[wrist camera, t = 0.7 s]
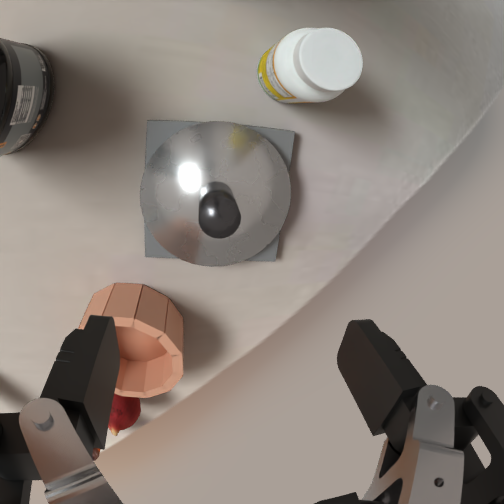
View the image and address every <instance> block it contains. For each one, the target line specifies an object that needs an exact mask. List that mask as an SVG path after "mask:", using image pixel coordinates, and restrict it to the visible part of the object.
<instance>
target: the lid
mask: <svg viewBox="0 0 504 504" xmlns="http://www.w3.org/2000/svg"><path fill="white" fill-rule="evenodd" d="M290 200H291V184H290V178H289V174H288V171H287V168H286V165H285V163H284V161H283V159H282V157H281V156H280V154H279V153H278V151H277V150H276V149H275V147H274V146H273V145H272V144H271V143H270V142H269V141H268V140H267V139H265V138H264V137H263V136H262V135H260V134H259V133H257V132H255V131H254V130H252V129H249V128H247V127H245V126H242V125H239V124H235V123H231V122H225V121H209V122H202V123H198V124H194V125H191V126H189V127H186V128H184V129H182V130H180V131H178V132H177V133H175V134H174V135H172V136H171V137H170V138H168V139H167V140H166V141H165V142H164V143H163V144H162V145H161V146H160V147H159V148H158V149H157V150H156V152H155V153H154V154H153V156H152V157H151V159H150V161H149V163H148V164H147V166H146V169H145V172H144V174H143V178H142V182H141V190H140V202H141V209H142V214H143V217H144V220H145V222H146V225H147V227H148V229H149V230H150V232H151V234H152V235H153V236H154V238H155V239H156V240H157V241H158V243H159V244H160V245H161V246H162V247H163V248H165V249H166V250H167V251H168V252H170V253H171V254H173V255H174V256H176V257H178V258H180V259H182V260H184V261H186V262H189V263H192V264H197V265H201V266H211V267H212V266H226V265H231V264H235V263H239V262H241V261H244V260H246V259H248V258H250V257H252V256H254V255H256V254H257V253H259V252H260V251H261V250H263V249H264V248H265V247H266V246H267V245H268V244H270V242H271V241H272V240H273V239H274V238H275V237H276V235H277V234H278V232H279V231H280V230H281V228H282V226H283V224H284V222H285V220H286V217H287V214H288V211H289V207H290Z"/></svg>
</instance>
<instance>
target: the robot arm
mask: <svg viewBox="0 0 504 504" xmlns="http://www.w3.org/2000/svg"><path fill="white" fill-rule="evenodd" d="M337 364H338V368H339V370H340V372H341V374H342V376H343V378H344V379H345V382H346V383H347V386H348V388H349V389H350V391H351V393H352V395H353V397H354V399H355V401H356V403H357V405H358V407H359V409H360V411H361V413H362V415H363V417H364V419H365V421H366V423H367V425H368V427H369V428H370V431H371V433H372V435H373V436H375V435H379V434H382V433H386V435H387V438H386V440H385V441H384V444H383V448H382V451H381V455H380V458H379V462H378V465H377V469H376V472H375V476H374V478H373V481H372V484H371V486H370V488H369V489H368V491H367V492H366V494H365V495H364V497H363V499H362V500H359V499H358V496H357V494H356V492H354V493H350V494H347V495H343V496H339V497H335V498H331V499H327V500H322V501H319V502H317V503H315V504H504V405H503V404H502V402H501V401H500V400H499V398H498V397H497V395H496V394H495V393H494V392H493V391H492V390H490V389H488V388H486V387H482V386H478V387H475V388H474V389H473V390H472V391H471V392H470V394H469V395H468V397H467V398H455V397H454V398H453V397H452V396H451V395H450V394H449V392H448V391H446V390H445V389H443V388H442V387H439V386H436V385H427V384H426V383H425V381H424V380H423V379H422V377H421V376H420V374H419V373H418V372H417V370H416V369H415V368H414V366H413V365H412V364H411V362H410V361H409V360H408V359H406V356H405V354H404V353H403V352H402V351H401V349H400V348H399V346H398V345H397V344H396V342H395V341H394V340H393V339H392V338H390V337H389V336H388V335H386V334H385V333H384V332H381V331H380V330H379V328H378V327H377V326H376V324H375V323H374V322H373V321H372V320H370V319H366V320H352V321H350V322H349V324H348V326H347V329H346V331H345V335H344V337H343V340H342V343H341V345H340V348H339V351H338V355H337ZM119 369H120V352H119V346H118V340H117V334H116V328H115V322H114V318H113V317H112V316H100V315H90V316H89V318H88V321H87V323H86V325H85V327H84V329H75V330H74V331H72V332H71V333H70V334H69V335H68V336H67V337H66V338H65V340H64V342H63V344H62V346H61V349H60V352H59V353H58V355H57V357H56V361H55V362H54V364H53V367H52V369H51V371H50V374H49V376H48V379H47V381H46V384H45V386H44V389H43V391H42V394H41V396H40V398H38V399H34V400H32V401H30V402H28V403H27V404H26V405H25V406H24V407H23V408H22V410H21V412H19V413H0V504H29V499H30V491H31V484H32V480H43V483H44V484H45V487H46V491H45V496H46V499H47V501H48V503H49V504H123V503H122V502H121V500H120V499H119V498H118V496H117V495H116V494H115V492H114V491H113V489H112V488H111V487H110V485H109V484H108V482H107V481H106V479H105V478H104V476H103V475H102V473H101V472H100V471H99V469H98V468H97V466H96V465H95V463H94V462H93V460H92V454H93V448H97V449H105V442H106V436H107V430H108V424H109V418H110V413H111V408H112V402H113V397H114V392H115V388H116V383H117V378H118V374H119ZM478 434H479V436H480V437H481V439H482V440H483V442H484V444H485V445H486V447H487V449H488V450H489V452H490V454H491V463H490V465H489V466H488V467H487V468H486V469H485V468H484V466H483V464H482V463H481V461H480V459H479V457H478V455H477V454H476V452H475V450H474V448H473V447H472V445H471V442H472V441H473V440H474V439H475V438H476V436H477V435H478Z"/></svg>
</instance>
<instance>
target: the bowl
mask: <svg viewBox="0 0 504 504" xmlns="http://www.w3.org/2000/svg"><path fill="white" fill-rule="evenodd" d="M90 315H100V316H112V317H113V318H114V322H115V328H116V334H117V340H118V346H119V352H120V369H119V374H118V378H117V383H116V388H115V392H114V393H115V394H117V395H120V396H127V397H139V398H149V397H153V396H156V395H159V394H162V393H165V392H168V391H169V390H171V389H172V388H173V387H174V386H175V385H176V383H177V382H178V381H179V380H180V379H181V378H182V376H183V353H184V322H183V317H182V316H181V314H180V313H179V311H178V310H177V309H176V307H175V306H174V304H173V303H172V302H171V300H170V299H168V297H166V296H165V295H163V294H161V293H159V292H157V291H155V290H153V289H151V288H149V287H147V286H146V285H143V284H128V283H116V284H115V283H114V284H112V285H110V286H108V287H106V288H104V289H102V290H100V291H98V292H96V293H94V295H93V297H92V299H91V301H90V303H89V305H88V307H87V310H86V312H85V314H84V316H83V319H82V321H81V323H80V325H79V328H78V329H84V327H85V325H86V323H87V321H88V318H89V316H90Z"/></svg>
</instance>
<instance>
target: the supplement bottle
mask: <svg viewBox="0 0 504 504" xmlns="http://www.w3.org/2000/svg"><path fill="white" fill-rule="evenodd" d="M362 69H363V59H362V54H361V51H360V49H359V47H358V45H357V44H356V42H355V41H354V40H353V39H352V38H351V37H350V36H349V35H347V34H346V33H344V32H342V31H340V30H338V29H334V28H319V29H318V28H302V29H298V30H295V31H293V32H291V33H289V34H288V35H286V36H285V37H284V38H283V39H281V40H280V41H279V42H277V43H276V44H275V45H274V46H273V47H271V48H270V49H269V50H268V51H266V52H265V53H264V54H263V56H262V57H261V58H260V60H259V63H258V66H257V79H258V82H259V84H260V86H261V88H262V90H263V91H264V92H265V93H266V94H267V95H268V96H269V97H271V98H272V99H274V100H276V101H279V102H282V103H315V102H325V101H329V100H332V99H334V98H336V97H337V96H339V95H340V94H341V93H342V92H343V91H344V90H345V89H347V88H349V87H351V86H352V85H354V84H355V83H356V82H357V80H358V79H359V77H360V75H361V73H362Z"/></svg>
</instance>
